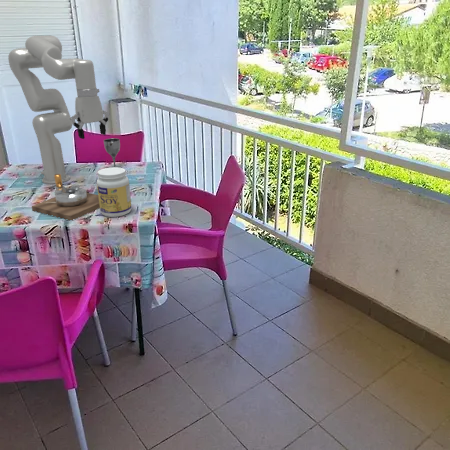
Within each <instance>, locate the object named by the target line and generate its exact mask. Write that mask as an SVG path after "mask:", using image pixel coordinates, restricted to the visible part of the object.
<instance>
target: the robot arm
mask: <svg viewBox="0 0 450 450" xmlns="http://www.w3.org/2000/svg"><path fill="white" fill-rule="evenodd" d="M24 46H25V47H20V48H15V49H12V50H11V51H9V54H8V64H9V68H10V70H11V72H12V73H13V75H14V77H15V78H16V80H17V81H18V83H19V85H20V87H21V89H22V92H23V95H24V98H25V100H26V103H27V104H28V107H29V108H30V110H31V111H32V112H35V113H38V112H39V113H40V112H45V113H41V114H37V115H36V116H34V117H33V119H32V128H33V130H34V133H35V135H36V139H37V143H38V146H39V147H38V148H39V152H40V159H41V163H42V168H43V170H42V171H41V172H40V175H43V177H42V180H41V181H42V183H44V184H48V185H54V184H55V185H56V183H55V177H54V175H55V174H61V179H62V184H63V183H65V182H68V181H69V180H70V179H71V176H70V175H69V174H67V173H66V167H65V160H64V156H63V148H62V144H61V142H60V140H59V139H58V138H57V136H56V135H55V134H60V133H61V134H62V133H65V132H68V131H70V130H72V128H73V126H74V127H75V128H76V129H77V135H78V137H79V138H80V139H83V140H85V130H84V125H86V124H90V123H91V124H92V123H97V122H98V123H100V124H99V132H100V134H101V135H103V136H106V135H107V133H106V132H107V130H106V129H107V127H106V126H107V123H108V122H109V118H110V112H108V111H106V110H103V106H102V103H101V98H100V96H99V95H98V93H100V89H99V88H97V84H96V83H97V82H96V77H95V76H96V73H95V67H94V63H93V61H92V60H91V59H83V58H79V57H78V58H63V54H62V53H63V52H62V51H63V45H62V43H61V41H60V39H59V38H58V37H56V36H55V35H32V36H30V37H27V39H26V41H25V45H24ZM39 68H43V70H44V72H45V73H46V75H48V76H50V77H52V78H53V79H55V80H57V81H59V80H60V81H65V80H75V87H76V94H77V97H75V101H74V107H75V108H74V111H75V114H73V115H72V116H71V115H70V111H69V109H68V106H67V104H66V101H65V98H64V96H63V94H62V93H61V92H60V91H59V90H58V89H57V88H44V87H43V86H42V83H41V80H40V78H39V77H38V76H37V75H36V74H35V73H34V72H33V71H31V70H30V69H39ZM47 111H48V112H47ZM49 111H51V112H49ZM46 112H47V113H46Z"/></svg>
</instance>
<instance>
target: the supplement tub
mask: <svg viewBox="0 0 450 450" xmlns="http://www.w3.org/2000/svg"><path fill="white" fill-rule="evenodd" d="M96 188H97V195H98V197H99V205H100V208H99V210H100V213H101V214H102V216H104V217H110V218H117V217H122V216H125V215H128V214H129V213H130V212H131V211H132V208H133V207H132V199H131V190H130V180H129V177H128V176H127V173H126V169H125V168H123V167H122V168H118V167H113V166H111V168H110V167H106V168H101V169H100V170H97V180H96Z"/></svg>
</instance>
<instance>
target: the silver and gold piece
mask: <svg viewBox="0 0 450 450" xmlns="http://www.w3.org/2000/svg"><path fill="white" fill-rule="evenodd" d="M54 177H55V183H56V184H55V189H54V197H56V203H57V205H59V206H63V207H71V206H77V205H81V204H83V203H85V202H86V201H87V194H86V193H87V189H86V188H81V187H80V184H73V185H70V187H69V188H67V187H66V186H64V185H63V183H62V179H61V174H55V175H54Z"/></svg>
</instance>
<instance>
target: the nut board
mask: <svg viewBox="0 0 450 450" xmlns="http://www.w3.org/2000/svg"><path fill="white" fill-rule="evenodd" d="M86 194H87V201H86V202H85V203H83V204H81V205H77V206H71V207H63V206H59V205H57V203H56V197H55V196H54V197H52V198H49V199H47V200H44V201H41V202H39V203H36V204H33V205H32V206H31V209H32V212H35V211H37V212H36V213H39V212H41V213H40V214H43V213H44V215H47V214H48V215H47V216H51V215H53V216H52V217H54V216H56V217H55V218H58V217H60V218H59V219H62V218H64V219H63V220H66V219H68V220H67V221H70V220H72V221H74V220H73V219H75V220H76V218H77V219H79V218H81V217H82V216H85V215H88V214H90V213H92V212H94V211H96V210H98V209H100V205H99V197H98V194H95V193H90V192H86ZM87 213H88V214H87ZM78 217H79V218H78Z"/></svg>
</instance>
